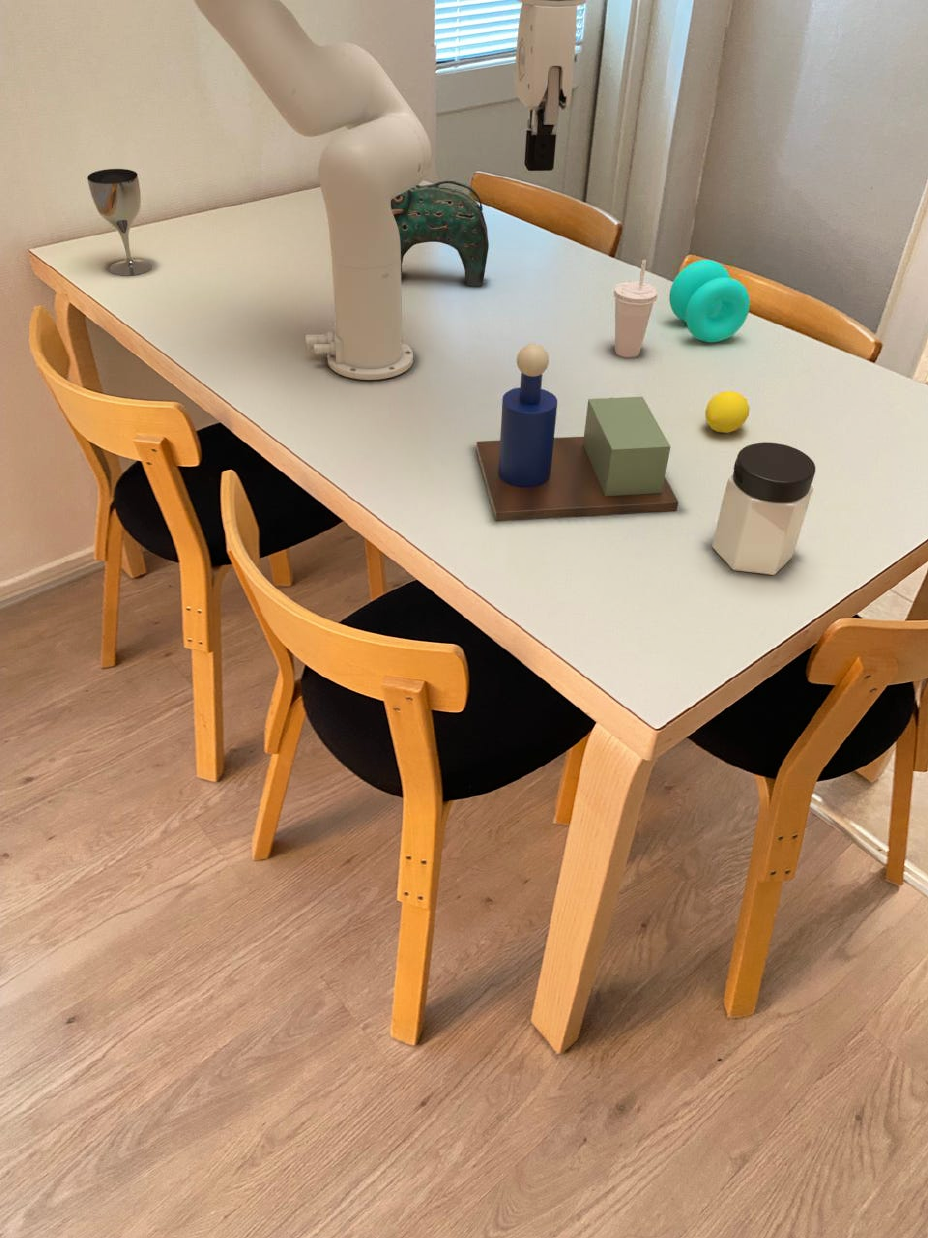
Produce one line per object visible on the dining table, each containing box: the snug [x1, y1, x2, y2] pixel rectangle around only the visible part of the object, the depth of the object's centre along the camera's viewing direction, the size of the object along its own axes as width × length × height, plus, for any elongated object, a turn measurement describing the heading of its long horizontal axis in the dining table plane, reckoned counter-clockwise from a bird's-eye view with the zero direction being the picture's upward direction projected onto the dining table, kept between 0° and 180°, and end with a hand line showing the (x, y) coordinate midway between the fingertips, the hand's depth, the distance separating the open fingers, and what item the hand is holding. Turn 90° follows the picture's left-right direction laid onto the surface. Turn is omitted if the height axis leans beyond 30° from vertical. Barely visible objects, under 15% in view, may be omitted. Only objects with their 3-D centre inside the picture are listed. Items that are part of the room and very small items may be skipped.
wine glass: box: [86, 168, 153, 277], centre depth 163 cm, size 8×8×15 cm
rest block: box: [583, 396, 671, 496], centre depth 119 cm, size 7×12×6 cm, turn 8°
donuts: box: [668, 259, 751, 343], centre depth 151 cm, size 10×10×10 cm
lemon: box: [704, 390, 750, 434], centre depth 129 cm, size 7×5×5 cm
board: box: [475, 436, 679, 522], centre depth 120 cm, size 22×16×1 cm
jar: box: [711, 441, 816, 576], centre depth 106 cm, size 9×8×12 cm
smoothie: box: [612, 259, 658, 358], centre depth 143 cm, size 6×6×14 cm
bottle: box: [498, 343, 558, 487], centre depth 115 cm, size 14×6×15 cm
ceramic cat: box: [391, 180, 490, 288], centre depth 161 cm, size 20×6×20 cm, turn 83°
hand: (538, 168), depth 114 cm, fingers closed
